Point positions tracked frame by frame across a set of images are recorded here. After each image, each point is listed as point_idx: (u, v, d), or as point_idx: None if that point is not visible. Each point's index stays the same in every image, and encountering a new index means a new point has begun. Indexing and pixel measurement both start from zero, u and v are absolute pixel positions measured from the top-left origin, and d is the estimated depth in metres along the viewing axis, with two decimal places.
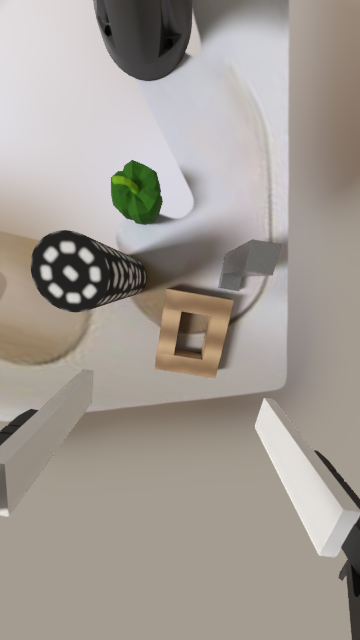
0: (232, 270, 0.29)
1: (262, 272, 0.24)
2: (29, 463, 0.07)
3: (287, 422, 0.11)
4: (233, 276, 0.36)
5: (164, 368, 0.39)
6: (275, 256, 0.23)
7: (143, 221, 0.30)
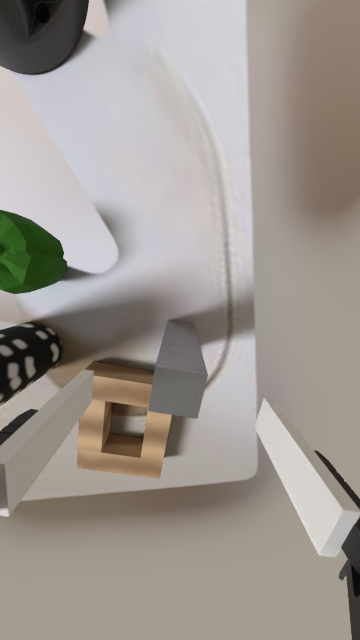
0: None
1: (180, 414, 0.14)
2: (29, 463, 0.07)
3: (287, 422, 0.11)
4: None
5: (90, 467, 0.29)
6: (199, 392, 0.13)
7: (25, 291, 0.20)
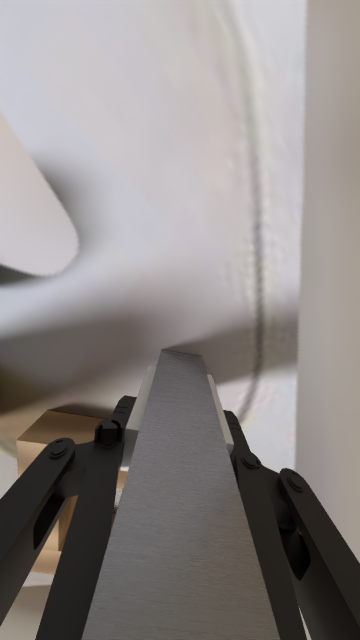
0: None
1: None
2: None
3: (212, 390, 0.13)
4: None
5: (42, 570, 0.19)
6: None
7: None
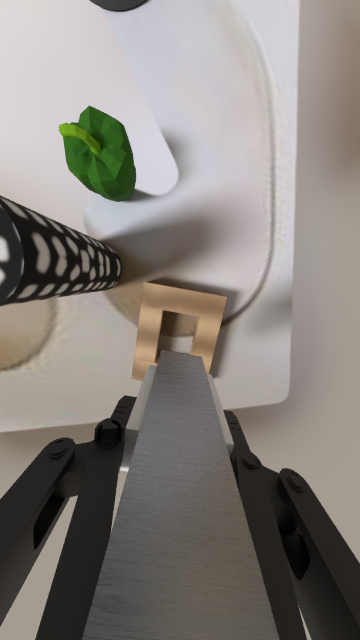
0: None
1: None
2: None
3: (212, 390, 0.13)
4: None
5: (143, 378, 0.32)
6: None
7: (110, 193, 0.23)
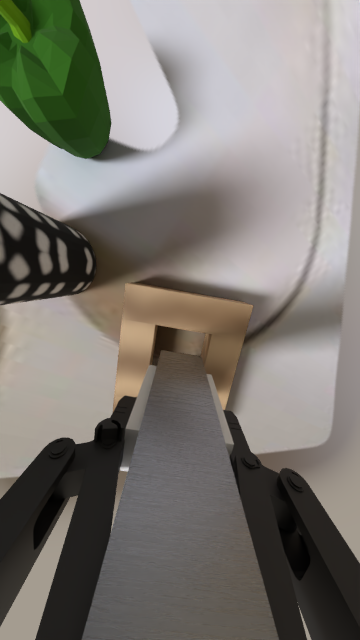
0: None
1: None
2: None
3: (212, 390, 0.13)
4: None
5: None
6: None
7: (61, 131, 0.14)
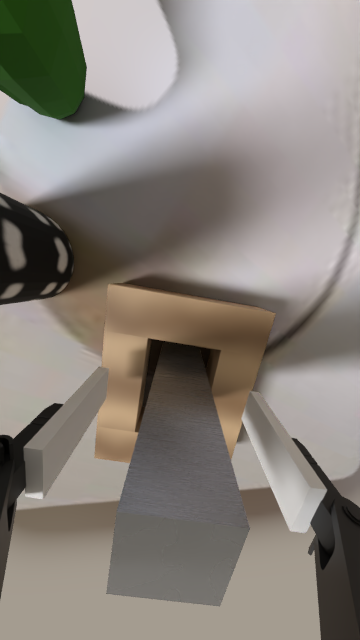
0: None
1: (180, 597, 0.06)
2: (59, 451, 0.08)
3: (269, 412, 0.11)
4: None
5: (115, 457, 0.18)
6: (227, 560, 0.06)
7: (3, 58, 0.09)
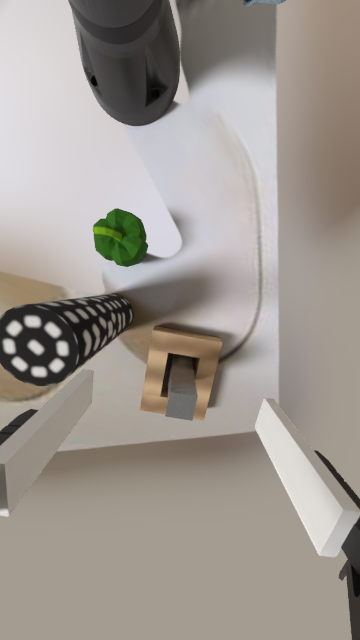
0: (168, 390, 0.31)
1: (182, 418, 0.25)
2: (29, 463, 0.07)
3: (287, 422, 0.11)
4: None
5: (150, 409, 0.37)
6: (193, 405, 0.25)
7: (127, 265, 0.29)
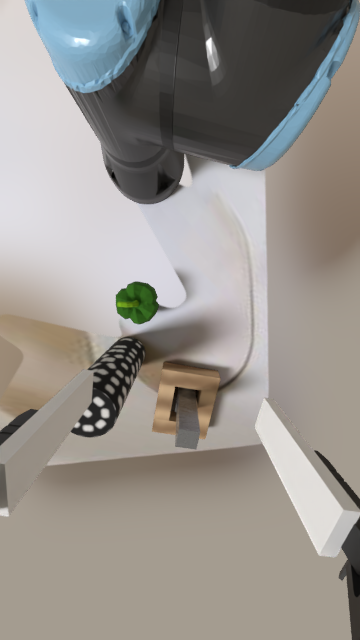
0: (176, 420, 0.38)
1: (188, 447, 0.32)
2: (29, 463, 0.07)
3: (287, 422, 0.11)
4: None
5: (160, 431, 0.44)
6: (197, 438, 0.32)
7: None
